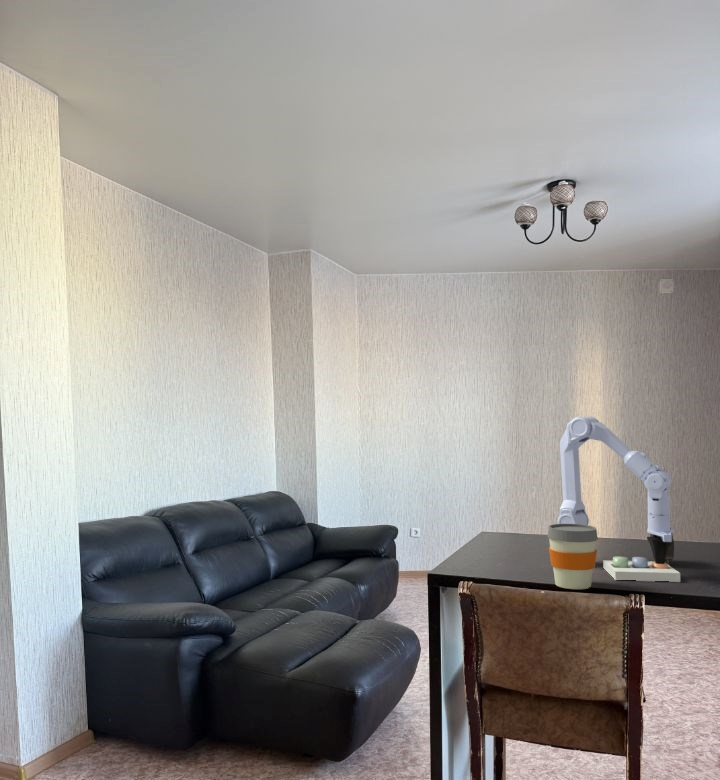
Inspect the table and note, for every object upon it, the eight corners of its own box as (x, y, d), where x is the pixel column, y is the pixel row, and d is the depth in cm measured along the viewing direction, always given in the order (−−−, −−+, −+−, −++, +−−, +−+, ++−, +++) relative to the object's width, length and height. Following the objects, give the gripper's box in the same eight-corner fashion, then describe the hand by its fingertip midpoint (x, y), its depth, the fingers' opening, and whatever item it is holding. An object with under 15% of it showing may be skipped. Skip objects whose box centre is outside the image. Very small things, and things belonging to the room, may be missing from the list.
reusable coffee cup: (541, 579, 185) (540, 523, 185) (586, 578, 185) (586, 523, 186) (558, 591, 172) (557, 531, 173) (606, 590, 173) (605, 531, 173)
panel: (615, 580, 183) (615, 571, 183) (603, 568, 197) (603, 560, 197) (680, 582, 181) (680, 573, 181) (663, 570, 195) (663, 561, 195)
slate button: (634, 570, 187) (634, 559, 188) (630, 567, 191) (630, 556, 192) (649, 571, 187) (649, 560, 187) (645, 567, 191) (645, 557, 191)
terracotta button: (654, 575, 187) (654, 564, 187) (650, 572, 191) (649, 561, 191) (669, 576, 186) (669, 565, 186) (665, 572, 190) (664, 561, 190)
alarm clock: (675, 567, 198) (674, 511, 198) (655, 567, 199) (654, 511, 200) (666, 559, 209) (665, 506, 209) (647, 559, 210) (647, 506, 210)
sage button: (615, 570, 188) (614, 559, 188) (611, 567, 192) (611, 556, 192) (630, 570, 188) (629, 559, 188) (626, 567, 192) (626, 556, 192)
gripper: (683, 518, 181) (684, 569, 181) (665, 510, 196) (666, 558, 195) (655, 517, 182) (656, 569, 182) (639, 510, 197) (640, 557, 196)
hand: (659, 563), depth 189 cm, fingers closed, pressing on terracotta button
